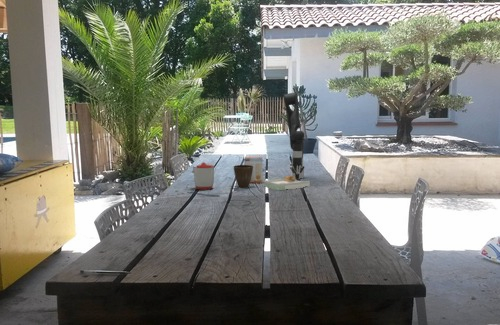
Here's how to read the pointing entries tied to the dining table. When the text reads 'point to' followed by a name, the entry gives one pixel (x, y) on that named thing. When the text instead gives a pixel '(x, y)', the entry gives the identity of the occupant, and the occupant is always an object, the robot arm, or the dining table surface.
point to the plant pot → (243, 175)
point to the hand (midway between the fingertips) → (297, 178)
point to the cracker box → (255, 168)
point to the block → (289, 178)
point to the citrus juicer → (203, 176)
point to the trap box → (285, 184)
